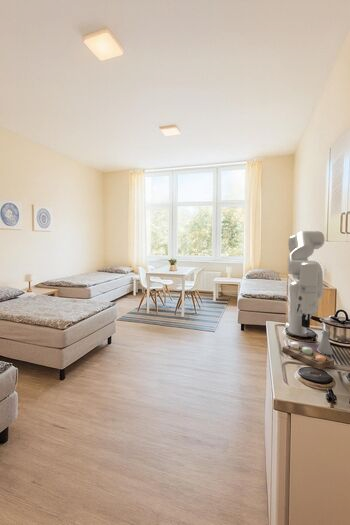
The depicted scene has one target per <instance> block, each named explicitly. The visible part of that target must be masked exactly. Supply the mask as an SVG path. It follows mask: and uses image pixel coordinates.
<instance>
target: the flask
mask: <svg viewBox="0 0 350 525" xmlns="http://www.w3.org/2000/svg"><path fill="white" fill-rule="evenodd" d="M321 334H322V338H321V339H320V342H319V344H318V346H317V348H318V350H319V351H320V352H321V353H324V354H323V355H325V354H326V355H325V356H330V355H331V356H333V350H332V346H331V343H330V340H329V338H330V337H329V335H330V332H327V331H322V333H321Z"/></svg>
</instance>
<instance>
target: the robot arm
mask: <svg viewBox="0 0 350 525" xmlns="http://www.w3.org/2000/svg"><path fill="white" fill-rule="evenodd" d="M287 242H288V244H287V245H288V250H289V253H290V254H289V255H288V257H287V271H288V273H289V274H290V275H292V278H293V279H294V280H296V281H293V282H291V283H290V284H289V286H288V287H289V288H288V290H289V299H290V302H289V319H288V320H289V321H288V323H285V324H284V328H287V330H289V331H290V332H292V333H294V334H301V335H303V334H306V333H308V328H310V327H311V326H310V325H311V320H312V316H313V315H314V314H316V313H317V312H318V311H319V300H321V299H322V298H323V297H324V296H323V295H324V278H323V277H324V275H323V269H322V267H321V265H320V264H319V262H318V261H316V260H309V257H311V256H313V254H314V252H315V251H314V250H318V249H320V248H322V247H323V245H324V243H325V235H324V233H323V232H322V231H318V230H317V231H316V230H315V231H312V230H311V231H310V230H309V231H308V230H306V231H305V230H304V231H303V230H302V231H299V232H297V233H296V234H295V235H292V236H289V238H288V241H287Z"/></svg>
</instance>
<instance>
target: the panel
mask: <svg viewBox="0 0 350 525" xmlns="http://www.w3.org/2000/svg"><path fill="white" fill-rule="evenodd" d="M281 347H282V348H281V349H282V350H281V352H282V353H284V354H287V356H288V355H289V356H290V357H292V356H293V357H292V358H295V359H297V360H298V361H301V362H302V363H304V364H307V366H308V365H309V366H310V367H312V368H314V367H315V368H314V369H316V368H318V369H319V370H322V369H326V368H328V367H333V366H335V359H334V358H331V357H330V356H327V355H325V354H320V353H319V352H317V351H314V350H313V349H312V355H309V356H307V355H305V354H303V353H302V348H303V347H304V346H303V345H301V344H299V349H297V350H294V349H292V348H290V344H287V345H283V346H281ZM316 355H321V356H324V357H325V358H326V361H325V362H320V361H318V360H316V359H315V357H316ZM318 369H317V370H318Z"/></svg>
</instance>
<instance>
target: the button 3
mask: <svg viewBox="0 0 350 525" xmlns="http://www.w3.org/2000/svg"><path fill="white" fill-rule="evenodd" d="M324 356H325V355H324ZM324 356H321V355H316V357H315V359H316V360H318V361H320V362H325V361H326V358H325V357H324Z"/></svg>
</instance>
